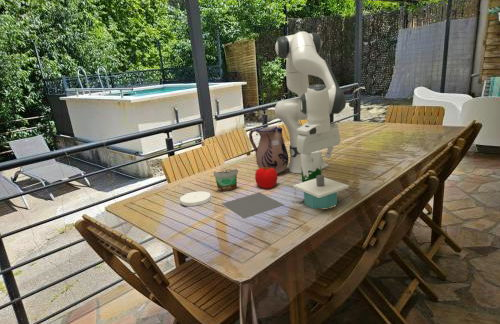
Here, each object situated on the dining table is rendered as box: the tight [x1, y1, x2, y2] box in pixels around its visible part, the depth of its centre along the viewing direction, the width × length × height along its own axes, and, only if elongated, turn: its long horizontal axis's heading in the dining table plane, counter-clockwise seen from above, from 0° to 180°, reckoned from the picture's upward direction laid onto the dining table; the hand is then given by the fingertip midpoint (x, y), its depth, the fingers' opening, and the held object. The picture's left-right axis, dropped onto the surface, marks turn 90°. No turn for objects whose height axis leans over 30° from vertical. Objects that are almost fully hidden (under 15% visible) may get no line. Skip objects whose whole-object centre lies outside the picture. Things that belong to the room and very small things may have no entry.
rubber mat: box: [221, 192, 285, 219], centre depth 149 cm, size 20×20×1 cm
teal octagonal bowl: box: [303, 192, 338, 209], centre depth 144 cm, size 13×13×7 cm
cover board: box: [292, 174, 350, 198], centre depth 142 cm, size 16×16×5 cm
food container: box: [213, 167, 239, 193], centre depth 168 cm, size 12×6×10 cm, turn 105°
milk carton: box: [301, 150, 323, 183], centre depth 161 cm, size 9×9×20 cm
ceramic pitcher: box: [248, 125, 289, 175], centre depth 188 cm, size 18×21×25 cm
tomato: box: [254, 167, 278, 190], centre depth 169 cm, size 11×13×10 cm
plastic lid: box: [179, 191, 212, 207], centre depth 159 cm, size 14×14×2 cm
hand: (319, 160), depth 140 cm, fingers open, 8 cm apart
